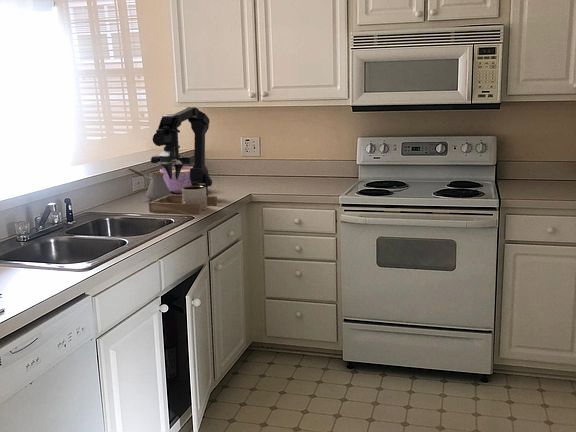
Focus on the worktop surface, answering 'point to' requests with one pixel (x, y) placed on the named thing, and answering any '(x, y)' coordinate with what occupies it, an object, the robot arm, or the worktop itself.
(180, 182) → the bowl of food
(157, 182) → the coffee pot
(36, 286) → the worktop surface
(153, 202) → the wooden tray
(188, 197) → the planter
